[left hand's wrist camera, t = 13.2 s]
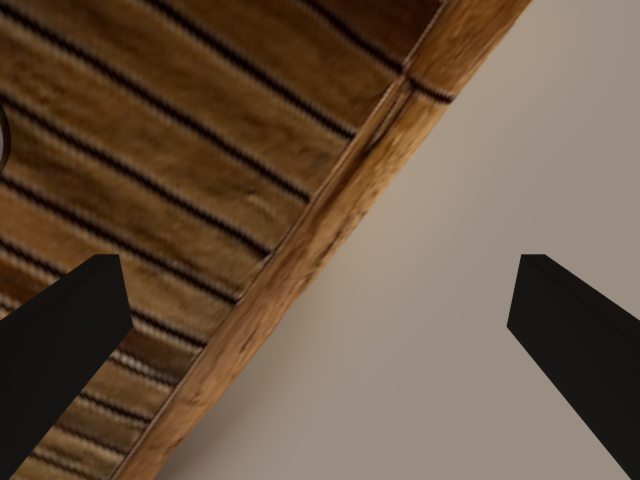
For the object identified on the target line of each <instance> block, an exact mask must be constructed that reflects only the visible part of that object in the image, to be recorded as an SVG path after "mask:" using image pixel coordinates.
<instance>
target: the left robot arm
mask: <svg viewBox="0 0 640 480" xmlns="http://www.w3.org/2000/svg"><path fill="white" fill-rule="evenodd" d="M8 153H9V132H8V127H7V123H6V120H5V117H4V114H3V112H2V110H1V108H0V172H1V171H2V169H3V168H4V166H5V164H6V161H7V158H8ZM132 328H133V322H132V317H131V312H130V308H129V303H128V298H127V293H126V288H125V283H124V278H123V273H122V268H121V263H120V259H119V254H95V255H94V256H92V257H91V258H89V259H88V260H86V261H85V262H84V263H82V264H81V265H79V266H78V267H76V268H75V269H73V270H72V271H71V272H69V273H68V274H66V275H65V276H63V277H62V278H61V279H59V280H58V281H56V282H55V283H53V284H52V285H51V286H49V287H48V288H46V289H45V290H43V291H42V292H40V293H39V294H38V295H36V296H35V297H33V298H32V299H30V300H29V301H28V302H26V303H25V304H23V305H22V306H20V307H19V308H17V309H16V310H15V311H13V312H12V313H10V314H9V315H7V316H6V317H5V318H3V319H2V320H0V480H9V479H10V478H11V476H12V475H13V474H14V473H15V471H16V470H17V469H18V468H19V466H20V465H21V464H22V463H23V462H24V460H25V459H26V458H27V457H28V455H29V454H30V453H31V452H32V451H33V449H34V448H35V447H36V446H37V444H38V443H39V442H40V441H41V439H42V438H43V437H44V436H45V435H46V433H47V432H48V431H49V430H50V428H51V427H52V426H53V425H54V424H55V422H56V421H57V420H58V419H59V417H60V416H61V415H62V414H63V412H64V411H65V410H66V409H67V408H68V406H69V405H70V404H71V403H72V401H73V400H74V399H75V398H76V397H77V395H78V394H79V393H80V392H81V390H82V389H83V388H84V387H85V385H86V384H87V383H88V382H89V381H90V379H91V378H92V377H93V376H94V374H95V373H96V372H97V371H98V370H99V368H100V367H101V366H102V365H103V363H104V362H105V361H106V360H107V358H108V357H109V356H110V355H111V354H112V352H113V351H114V350H115V349H116V347H117V346H118V345H119V344H120V343H121V341H122V340H123V339H124V338H125V336H126V335H127V334H128V333H129V331H130V330H131V329H132ZM507 328H508V329H509V330H510V331H511V333H512V334H513V335H514V336H515V338H516V339H517V340H518V341H519V343H520V344H521V345H522V346H523V347H524V349H525V350H526V351H527V352H528V354H529V355H530V356H531V357H532V358H533V360H534V361H535V362H536V363H537V365H538V366H539V367H540V368H541V370H542V371H543V372H544V373H545V374H546V376H547V377H548V378H549V379H550V381H551V382H552V383H553V384H554V385H555V387H556V388H557V389H558V390H559V392H560V393H561V394H562V395H563V397H564V398H565V399H566V400H567V401H568V403H569V404H570V405H571V406H572V408H573V409H574V410H575V411H576V412H577V414H578V415H579V416H580V417H581V419H582V420H583V421H584V422H585V423H586V425H587V426H588V427H589V428H590V430H591V431H592V432H593V433H594V435H595V436H596V437H597V438H598V439H599V441H600V442H601V443H602V444H603V446H604V447H605V448H606V449H607V450H608V452H609V453H610V454H611V455H612V457H613V458H614V459H615V460H616V462H617V463H618V464H619V465H620V466H621V468H622V469H623V470H624V471H625V473H626V474H627V475H628V476H629V477H630V479H631V480H640V320H638V319H637V318H635V317H634V316H632V315H631V314H630V313H628V312H627V311H625V310H624V309H622V308H621V307H620V306H618V305H617V304H615V303H614V302H612V301H611V300H610V299H608V298H607V297H605V296H604V295H602V294H601V293H599V292H598V291H597V290H595V289H594V288H592V287H591V286H589V285H588V284H587V283H585V282H584V281H582V280H581V279H579V278H578V277H577V276H575V275H574V274H572V273H571V272H569V271H568V270H567V269H565V268H564V267H562V266H561V265H559V264H558V263H556V262H555V261H554V260H552V259H551V258H549V257H548V256H546V255H545V254H522V255H521V259H520V263H519V268H518V274H517V278H516V283H515V288H514V293H513V298H512V303H511V308H510V312H509V317H508V323H507Z"/></svg>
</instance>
